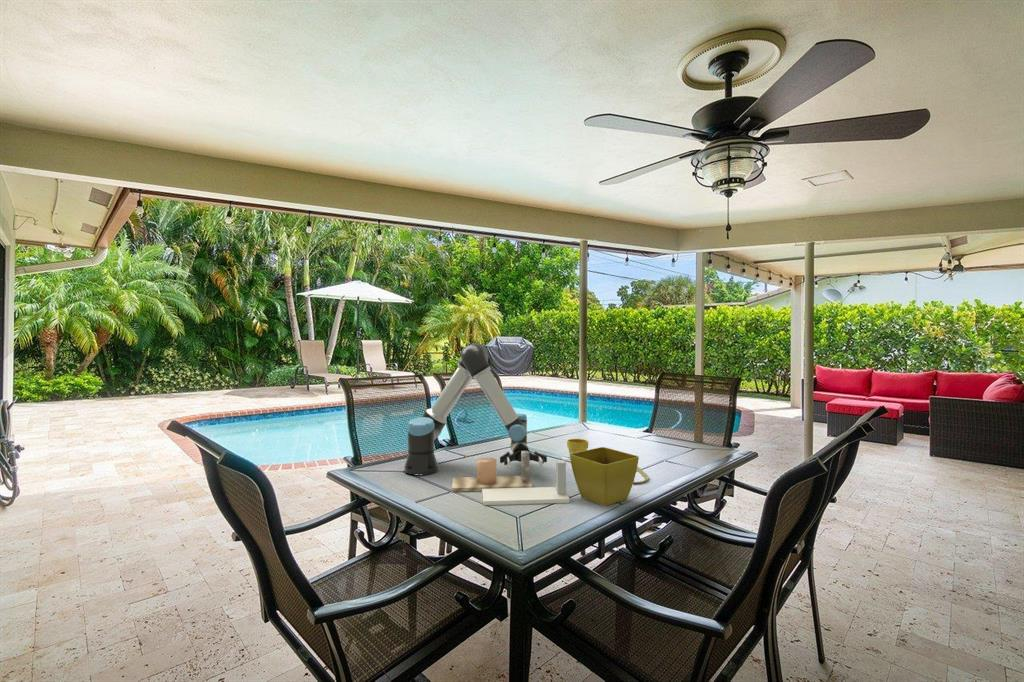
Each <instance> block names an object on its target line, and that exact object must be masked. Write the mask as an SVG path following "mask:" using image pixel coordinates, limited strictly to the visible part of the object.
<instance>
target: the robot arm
mask: <svg viewBox="0 0 1024 682" xmlns="http://www.w3.org/2000/svg"><path fill="white" fill-rule="evenodd" d="M489 359H490V352H489V350H488V348H487V347H486V346H485V345H483V344H481V343H478V342H475V343H471V344H468V345H466V346H465V347H464V348H463V350H462V351H461V355H460V358H459V359H458V361H457V368H456V369H455V371H454V373H453V374H452V376H451V378H450V379H449V380H448V382H447V384H446V385H445V386H444V388H443V390H442V391H441V393H440V394H439V395H438V397H437V399H436V400H435V401H434V403H433V405H432V406H431V407H430V408H426V409H425V411H424V413H423V414H422V416H421V417H416V418H413V419H410V420H409V422H408V424H407V425H408V426H407V447H408V448H407V450H408V451H407V452H408V453H407V458H406V461H405V464H404V467H403V468H404V471H405V472H406V473H410V474H419V475H418V476H421V475H420V474H428V475H431V474H430V473H432V474H435V473H437V472H438V471H439V463H438V460H437V458H436V455H435V440H436V439H437V438H438V437H439V436H440V435H441V433H442V431H443V429H444V428H445V426H446V425H447V422H448V421H447V417H448V416H449V414H450V412H452V410H453V408H454V407H455V405H456V404H457V402H458V400H459V399H460V397H462V394H463V392H465V390H466V389H467V387H468V385H469V384H470V382H471V381H472V379H475V380H476V382H477V384H478V385H479V386H480V389H482V392H483V393H484V394H485V396H486V398H487V399H488V402H489V403H490V405H491V406H492V408H493V409H494V411H495V413H496V414H497V416H498V417H499V419H500V421H501V423H502V424H503V425H504V428H505V429H506V431H507V433H508V437H509V439H510V449H511V452H512V453H511V452H510V451H507V452H506V453H504V454H503V455H501V456H499V463H500V464H504V466H507V468H508V469H510V468H511V467H510V466H511V464H510V463H511V462H519V463H521V451H529V462H530V461H533V462H538V465H539V467H540V468H543V464H544V463H548V456H547V455H545V454H542V453H539V452H537V450H536V451H534V452H533V453H532V452H531V451H530V449H529V446H528V435H527V432H528V431H527V430H528V428H527V427H528V420H527V414H525V413H517V412H516V411H515V409H514V407H513V405H512V404H511V403H510V401H509V399H508V397H507V396H506V394H505V392H504V391H503V389H502V388H501V386H500V385H499V384H500V383H498V381H497V379H496V377H494V376H495V375H493V373H492V371H491V365H490V364H489ZM437 470H438V471H437ZM436 471H437V472H436ZM405 472H404V473H405ZM434 472H435V473H434ZM406 473H405V474H406Z"/></svg>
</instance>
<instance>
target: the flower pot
mask: <svg viewBox="0 0 1024 682" xmlns="http://www.w3.org/2000/svg"><path fill="white" fill-rule="evenodd" d="M569 457H570V459H569V460H570V464H571V468H572V469H571V470H572V473H573V474H572V475H573V476H574V480H575V482H576V483H575V484H576V486H577V490H578V493H579V494H580V496H581V498H582V497H583V498H582V499H585V498H586V499H585V500H587V499H588V500H587V501H590V502H592V501H593V503H595V502H596V504H597V503H598V505H600V504H601V505H600V506H602V505H604V507H606V505H607V506H610V505H614V504H617V503H620V502H623V501H626V500H627V499H628V498H629V495H630V492H631V490H632V487H633V485H634V484H633V482H635V478H636V474H637V471H636V470H637V466H638V465H639V460H640V459H639V458H640V457H639V455H636V454H631V453H628V452H626V451H625V452H624V451H621V450H617V449H614V448H613V449H612V448H609V447H605V446H601V447H595V448H591V449H587V450H585V451H581V452H576V453H572V454H569ZM619 501H620V502H619ZM616 502H617V503H616ZM613 503H614V504H613Z"/></svg>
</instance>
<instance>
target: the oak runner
mask: <svg viewBox="0 0 1024 682" xmlns="http://www.w3.org/2000/svg"><path fill="white" fill-rule="evenodd" d="M529 452H530V450H529V451H521V462H520V463H521V464H520V475H506V476H505V475H502V476H501V475H499V476H497V475H496V483H494V484H491V485H482V484H478V483H477V476H464V477H463V476H460V477H459V476H458V477H456V476H455V477H452V484H451V493H459V492H460V493H461V492H463V491H465V492H482V489H498V488H533V483H532V482H531V479H530V461H529Z"/></svg>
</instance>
